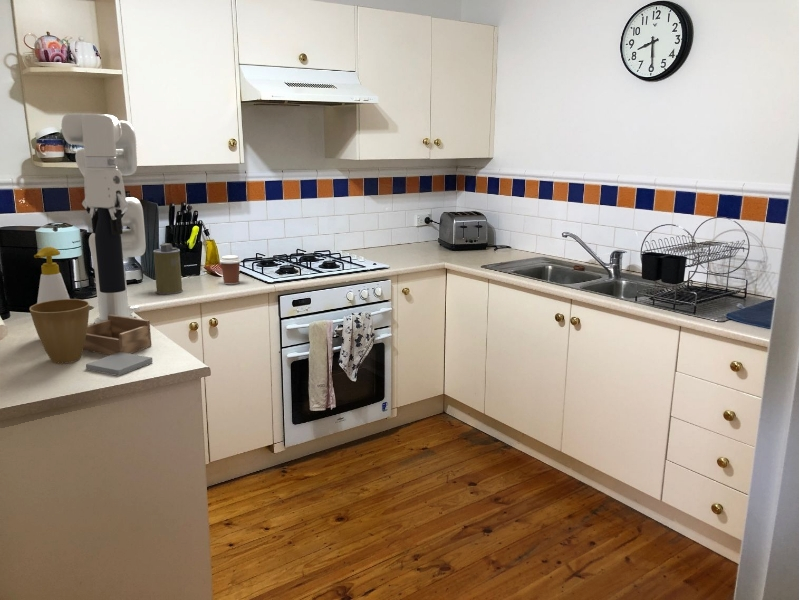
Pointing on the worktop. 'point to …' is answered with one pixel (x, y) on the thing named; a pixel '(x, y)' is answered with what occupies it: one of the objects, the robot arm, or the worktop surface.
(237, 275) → the coffee cup
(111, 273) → the black water bottle
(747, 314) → the worktop surface
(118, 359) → the tile
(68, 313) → the plant pot
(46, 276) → the soap bottle
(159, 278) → the canister
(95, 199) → the robot arm
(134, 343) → the wooden box
